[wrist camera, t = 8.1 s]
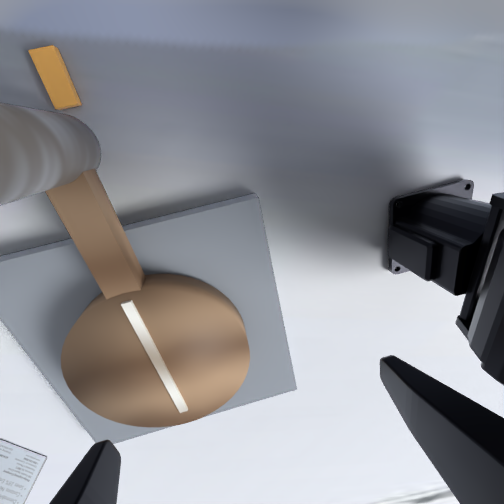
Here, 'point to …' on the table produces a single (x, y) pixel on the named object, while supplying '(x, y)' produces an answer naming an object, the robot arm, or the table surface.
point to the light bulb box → (17, 472)
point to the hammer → (123, 290)
